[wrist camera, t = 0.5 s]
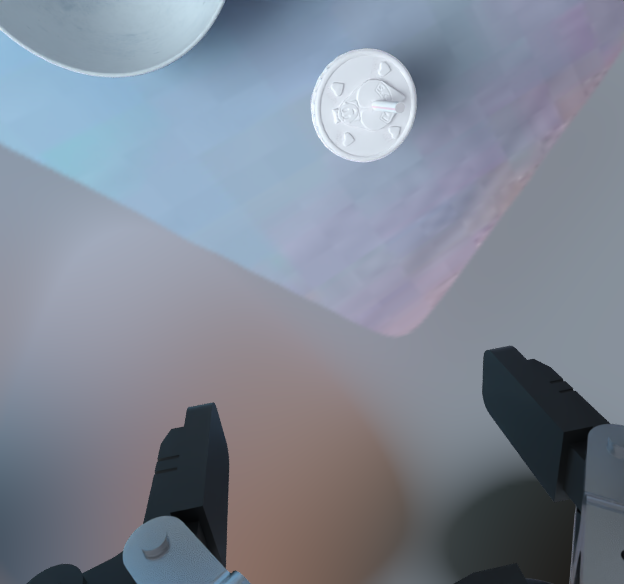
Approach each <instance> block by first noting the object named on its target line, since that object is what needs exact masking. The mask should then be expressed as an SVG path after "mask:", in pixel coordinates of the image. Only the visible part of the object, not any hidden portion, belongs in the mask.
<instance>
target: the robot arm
mask: <svg viewBox="0 0 624 584" xmlns="http://www.w3.org/2000/svg"><path fill="white" fill-rule="evenodd" d="M483 359H484V360H483V386H482V394H483V400H484V404H485V406H486V408H487V411H488V412H489V414H490V415H491V417H492V418H493V419H494V421H495V422H496V424H497V425H498V426H499V428H500V429H501V430H502V432H503V433H504V434H505V436H506V437H507V439H508V440H509V441H510V443H511V444H512V445H513V447H514V448H515V450H516V451H517V452H518V453H519V455H520V456H521V458H522V459H523V461H524V462H525V463H526V465H527V466H528V467H529V469H530V470H531V471H532V473H533V474H534V476H535V477H536V478H537V480H538V481H539V482H540V484H541V485H542V487H543V488H544V489H545V491H546V492H547V493H548V495H549V496H550V497H551V499H552V500H553V502H558V501H563V500H568V499H571V500H572V501H573V503H574V504H575V505H576V511H575V520H574V532H573V547H572V560H571V573H570V584H624V426H623V425H616V424H610V423H609V422H608V421H607V420H606V419H605V418H604V417H603V416H602V415H600V414H599V413H598V412H597V411H596V410H595V409H594V408H593V407H592V406H591V405H590V404H589V403H588V402H587V401H586V400H585V399H584V398H583V397H581V396H580V395H579V394H578V393H577V392H576V391H573V388H572V387H571V386H570V385H569V384H568V383H567V382H565V381H563V379H562V378H561V377H560V376H559V375H558V374H557V373H556V372H555V371H554V370H553V369H552V368H551V367H549V366H547V365H545V364H543V363H541V362H539V361H537V360H535V359H530V360H527V359H526V358H524V357H523V355H522V354H521V353H520V352H519V351H518V350H517V349H516V348H514V347H513V346H507V347H501V348H496V349H491V350H486V351H485V353H484V358H483ZM228 482H229V454H228V448H227V443H226V439H225V436H224V432H223V429H222V426H221V422H220V418H219V414H218V411H217V408H216V405H215V403H208V404H204V405H198V406H193V407H188V409H187V412H186V418H185V424H184V427H180V428H175V429H171V430H170V432H169V433H168V435H167V436H166V437H165V439H164V440H163V442H162V443H161V446H160V450H159V455H158V462H157V464H156V468H155V475H154V478H153V482H152V487H151V491H150V496H149V500H148V505H147V509H146V514H145V518H144V522H143V525H141V526H140V527H139V528H138V529H136V530H135V531H134V533H133V534H132V535H131V536H130V538H129V539H128V541H127V543H126V544H125V547H124V550H123V551H122V552H121V553H120V554H118V555H117V556H115V557H114V558H112V559H110V560H108V561H106V562H104V563H102V564H100V565H98V566H96V567H94V568H92V569H90V570H88V571H86V572H84V573H81V571H80V569H79V568H77V567H76V566H74V565H70V564H61V565H57V566H53V567H50V568H49V569H46V570H44V571H43V572H41V573H39V574H38V575H37V576H35V577H34V578H33V579H31V580H30V581H29V582H28V583H27V584H250V583H249V581H248V580H247V579H246V578H245V577H244V576H243V575H241V574H240V573H239V572H237V571H233V572H232V573H230V572H228V571H227V570H226V545H227V515H228V485H229V483H228ZM454 584H552V583H549V582H545V581H541V580H535V579H527V578H525V577H524V575H523V574H522V572H521V570H520V568H519V567H518V565H517V563H515V564H510V565H506V566H501V567H497V568H493V569H488V570H484V571H479V572H475V573H472V574H470V575H468V576H467V577H465V578H463V579H461V580H460V581H458V582H456V583H454Z"/></svg>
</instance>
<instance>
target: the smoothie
mask: <svg viewBox="0 0 624 584" xmlns="http://www.w3.org/2000/svg"><path fill="white" fill-rule="evenodd" d="M310 105H311V112H312V121H313V124H314V127H315V130H316V132H317V135H318V136H319V138H320V139H321V141H322V142H323V144H324V145H325V146H326V147H327V148H328V149H329V150H330V151H332V152H333V153H334V154H335V155H337V156H340V157H342V158H344V159H346V160H351V161H356V162H370V161H375V160H378V159H381V158H383V157H386V156H387V155H389V154H391V153H392V152H393V151H395V150H396V149H397V148H398V147H399V146H400V145H401V144H402V143H403V141H404V140H405V139H406V137H407V136H408V134H409V132H410V130H411V128H412V126H413V123H414V120H415V116H416V110H417V95H416V89H415V85H414V82H413V80H412V77H411V75H410V73H409V72H408V70H407V69H406V67H405V66H404V65H403V64H402V63H401V62H400V61H399V60H398V59H397V58H396V57H394V56H393V55H391V54H389V53H387V52H384V51H382V50H378V49H367V48H364V49H356V50H351V51H349V52H346V53H344V54H342V55H340V56H338V57H337V58H336V59H334V60H333V61H332V62H331V63H330V64H328V65H327V67H326V68H325V69H324V71H323V72H322V74H321V75H320V76H319V78H318V80H317V83H316V85H315V88H314V91H313V93H312V96H311V102H310Z"/></svg>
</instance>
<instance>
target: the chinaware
mask: <svg viewBox="0 0 624 584" xmlns="http://www.w3.org/2000/svg"><path fill="white" fill-rule="evenodd" d="M224 3H225V0H0V30H1V31H2V32H4V33H5V34H6V35H7V36H8V37H10V38H11V39H12V40H13V41H15V42H16V43H18V44H19V45H20V46H22V47H23V48H25V49H26V50H28V51H29V52H31V53H33V54H34V55H36V56H38V57H40V58H42V59H44V60H46V61H48V62H50V63H52V64H54V65H57V66H59V67H62V68H64V69H67V70H70V71H74V72H77V73H81V74H86V75H91V76H98V77H111V78H118V77H131V76H137V75H142V74H146V73H149V72H153V71H155V70H158V69H161V68H163V67H165V66H167V65H169V64H171V63H173V62H175V61H176V60H178V59H179V58H181V57H182V56H184V55H185V54H186V53H188V52H189V51H190V50H191V49H192V48H193V47H195V46H196V45H197V44H198V43H199V41H200V40H201V39H202V38H203V37H204V36H205V35H206V33H207V32H208V31H209V29H210V28H211V27H212V25H213V24H214V22H215V20H216V19H217V17H218V15H219V13H220V11H221V9H222V7H223V5H224Z"/></svg>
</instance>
